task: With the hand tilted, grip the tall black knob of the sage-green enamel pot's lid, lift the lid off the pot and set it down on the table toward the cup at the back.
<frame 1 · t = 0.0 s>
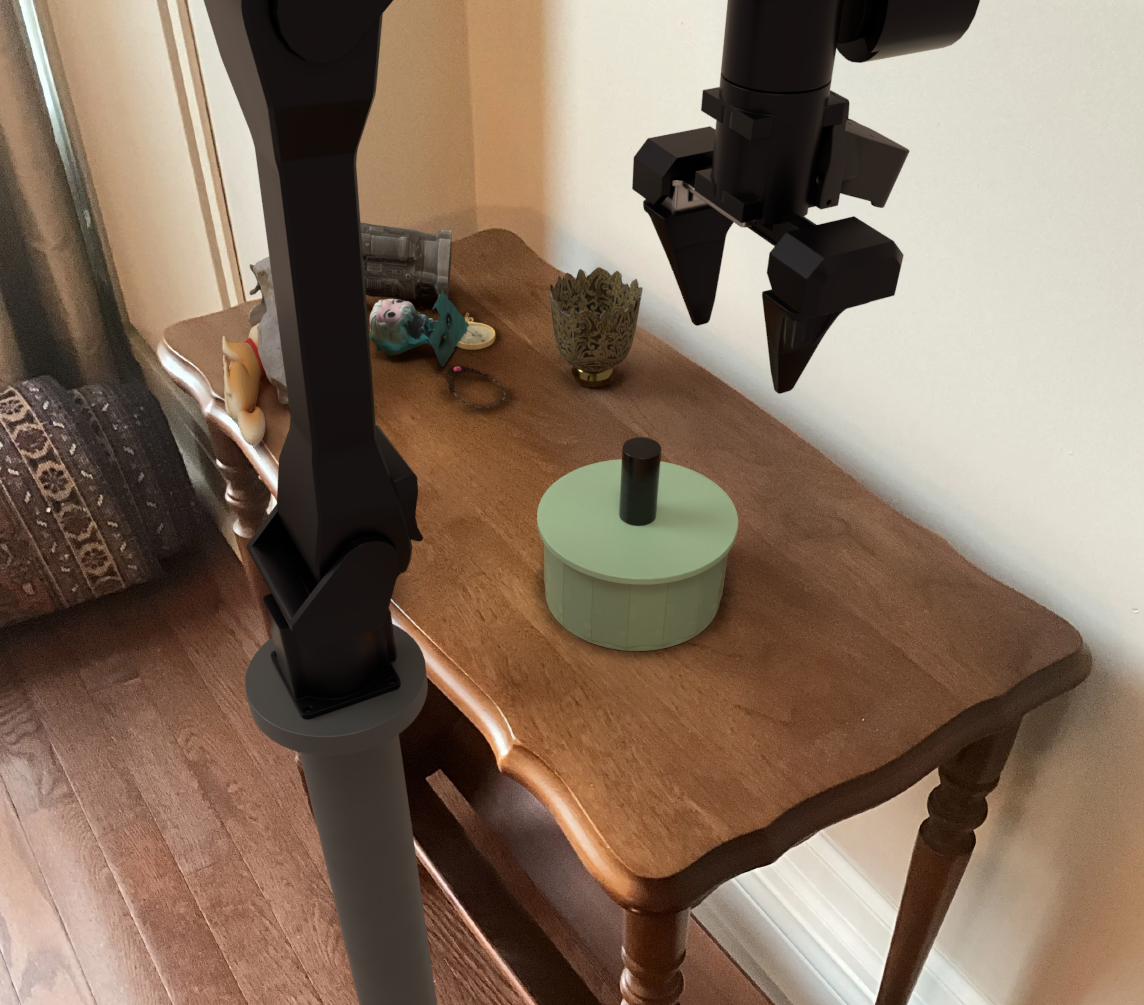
hand: (740, 356, 72), 15 cm above the table, tool pointing down, fingers open, 9 cm apart
pot: (632, 592, 80), on the table
stone: (328, 354, 99), point 1 cm above the table, touching figurine, toy
necklace: (474, 391, 97), on the table
toy: (220, 378, 94), point 2 cm above the table, touching stone
pocket watch: (471, 335, 104), on the table, touching figurine
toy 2: (452, 270, 105), point 3 cm above the table, touching eagle figurine
cup: (592, 381, 99), on the table
figurine: (443, 307, 96), point 5 cm above the table, touching pocket watch, stone
lid: (637, 521, 76), point 6 cm above the table, touching pot
eagle figurine: (258, 282, 103), point 3 cm above the table, touching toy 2
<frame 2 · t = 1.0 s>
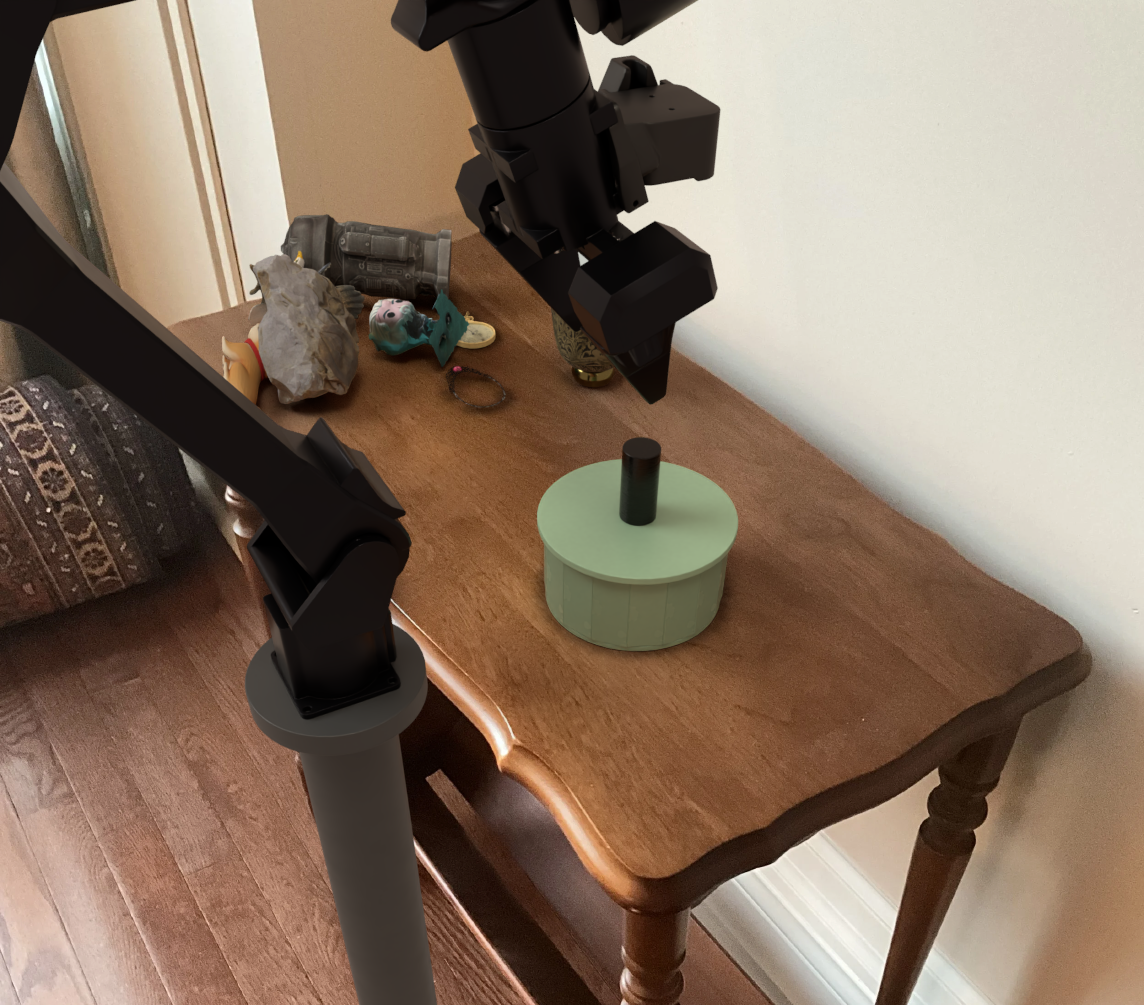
hand: (617, 362, 67), 17 cm above the table, tool tilted 20°, fingers open, 9 cm apart
stone: (327, 354, 99), point 1 cm above the table, touching figurine, toy
everything else where it was.
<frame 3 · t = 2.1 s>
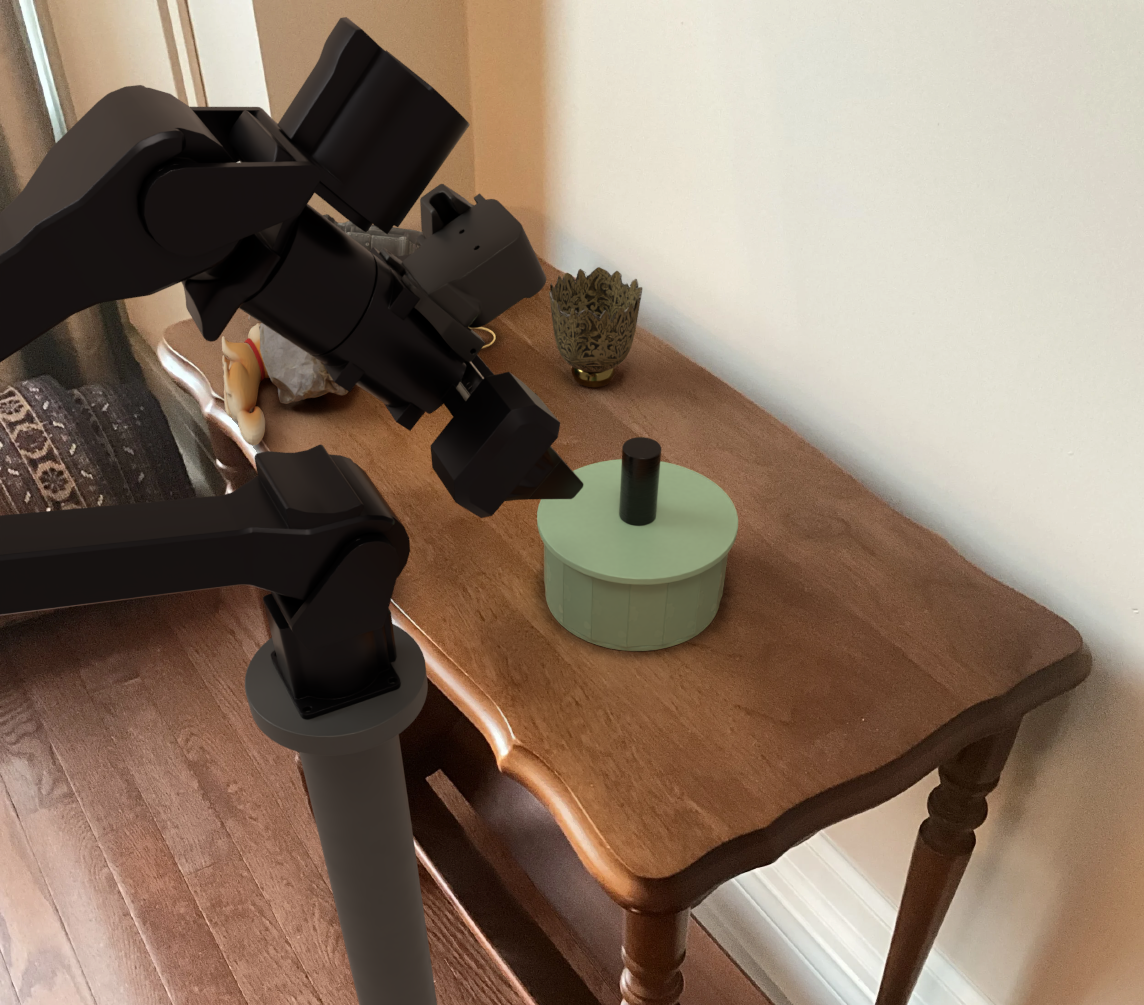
hand: (544, 449, 68), 13 cm above the table, tool tilted 45°, fingers open, 9 cm apart
stone: (327, 354, 99), point 1 cm above the table, touching figurine
toy: (220, 378, 94), point 2 cm above the table
everything else where it was.
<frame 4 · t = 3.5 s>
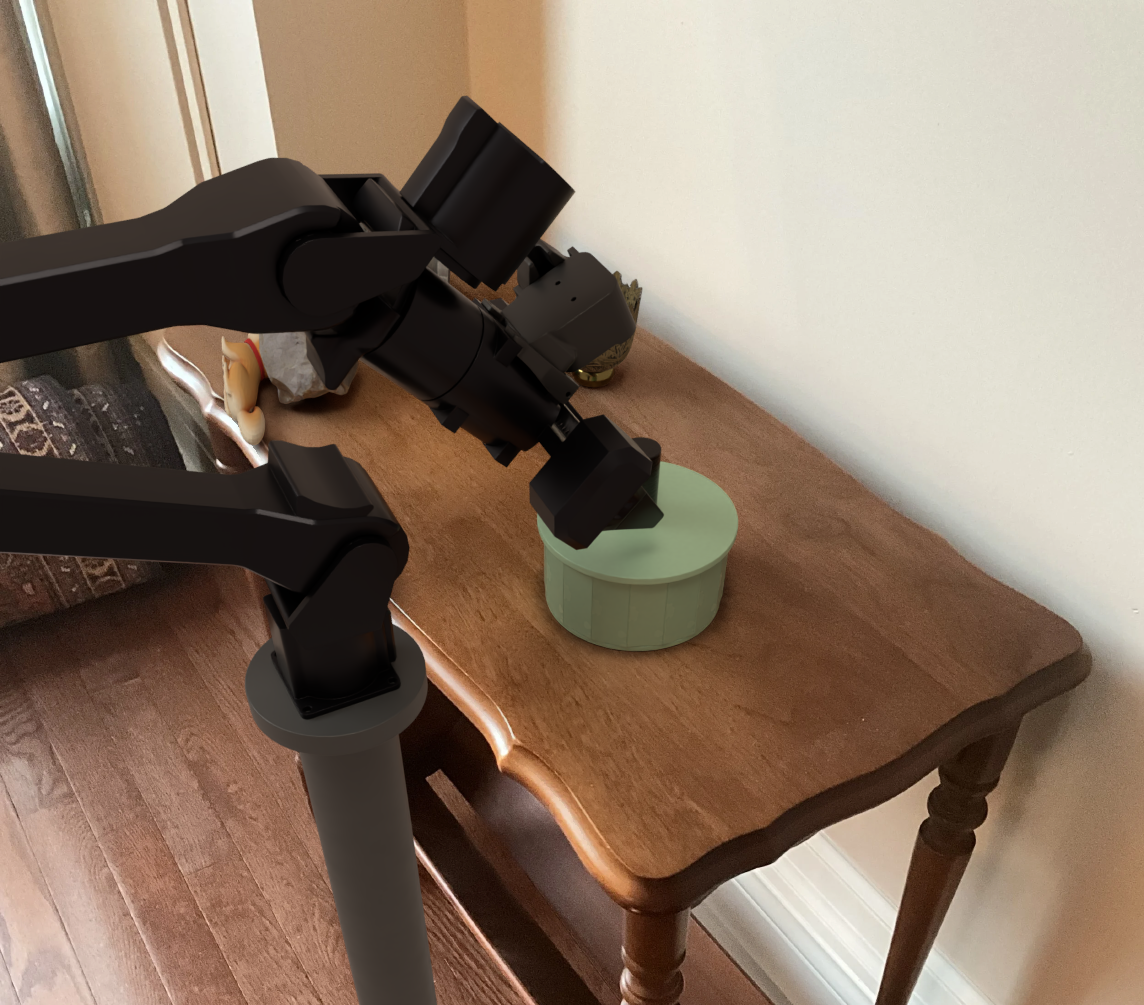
hand: (623, 479, 73), 9 cm above the table, tool tilted 45°, fingers open, 9 cm apart
nothing on the table moved.
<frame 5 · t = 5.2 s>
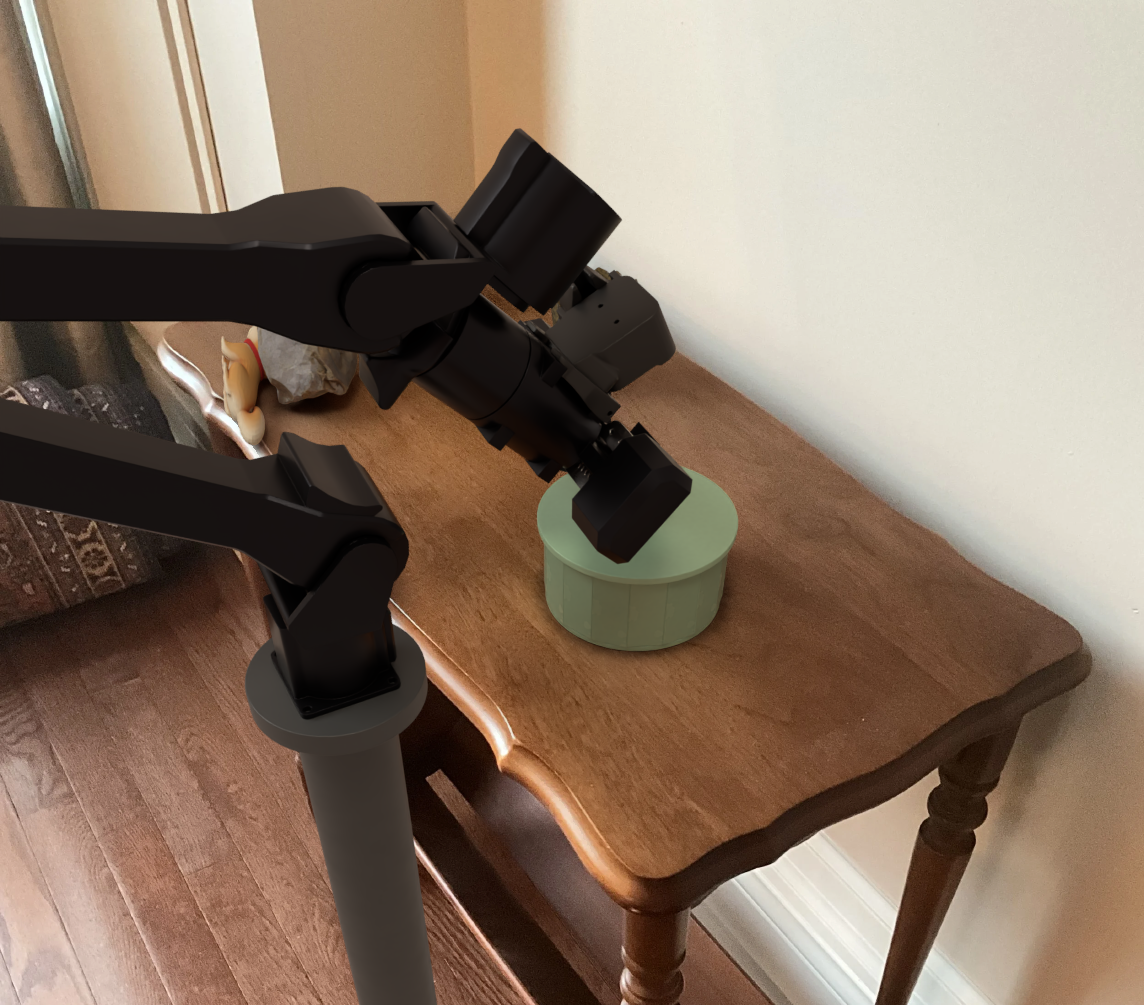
hand: (658, 494, 75), 8 cm above the table, tool tilted 45°, fingers closed on lid, 2 cm apart
stone: (326, 354, 99), point 1 cm above the table, touching figurine, toy
toy: (219, 378, 94), point 2 cm above the table, touching stone
lid: (637, 521, 76), point 6 cm above the table, touching gripper, pot
everything else where it was.
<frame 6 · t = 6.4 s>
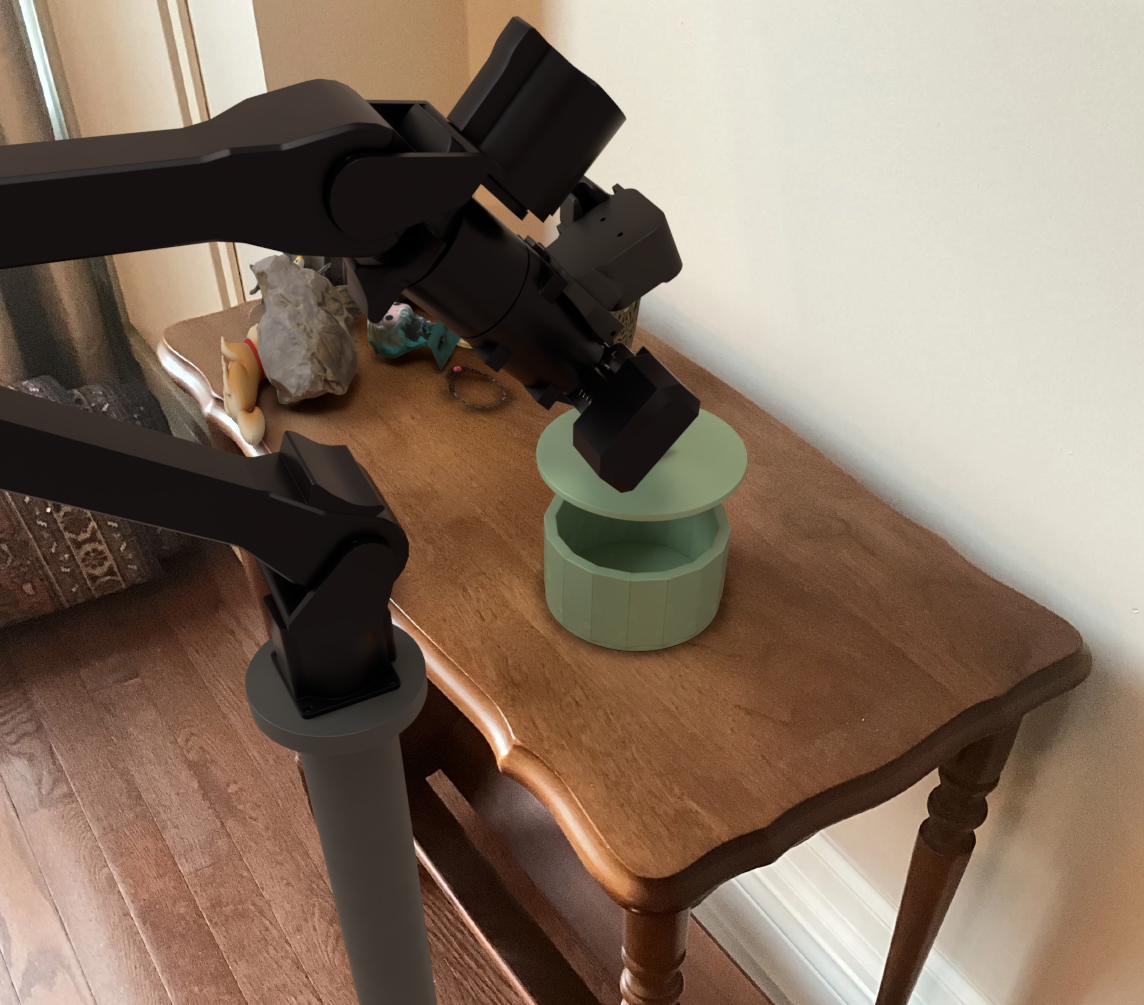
hand: (663, 429, 71), 12 cm above the table, tool tilted 45°, fingers closed on lid, 2 cm apart
lid: (641, 458, 72), point 11 cm above the table, touching gripper
everything else where it was.
when the fingers open (3 cm above the table, at t = 12.5 s): lid stays where it is, point 1 cm above the table.
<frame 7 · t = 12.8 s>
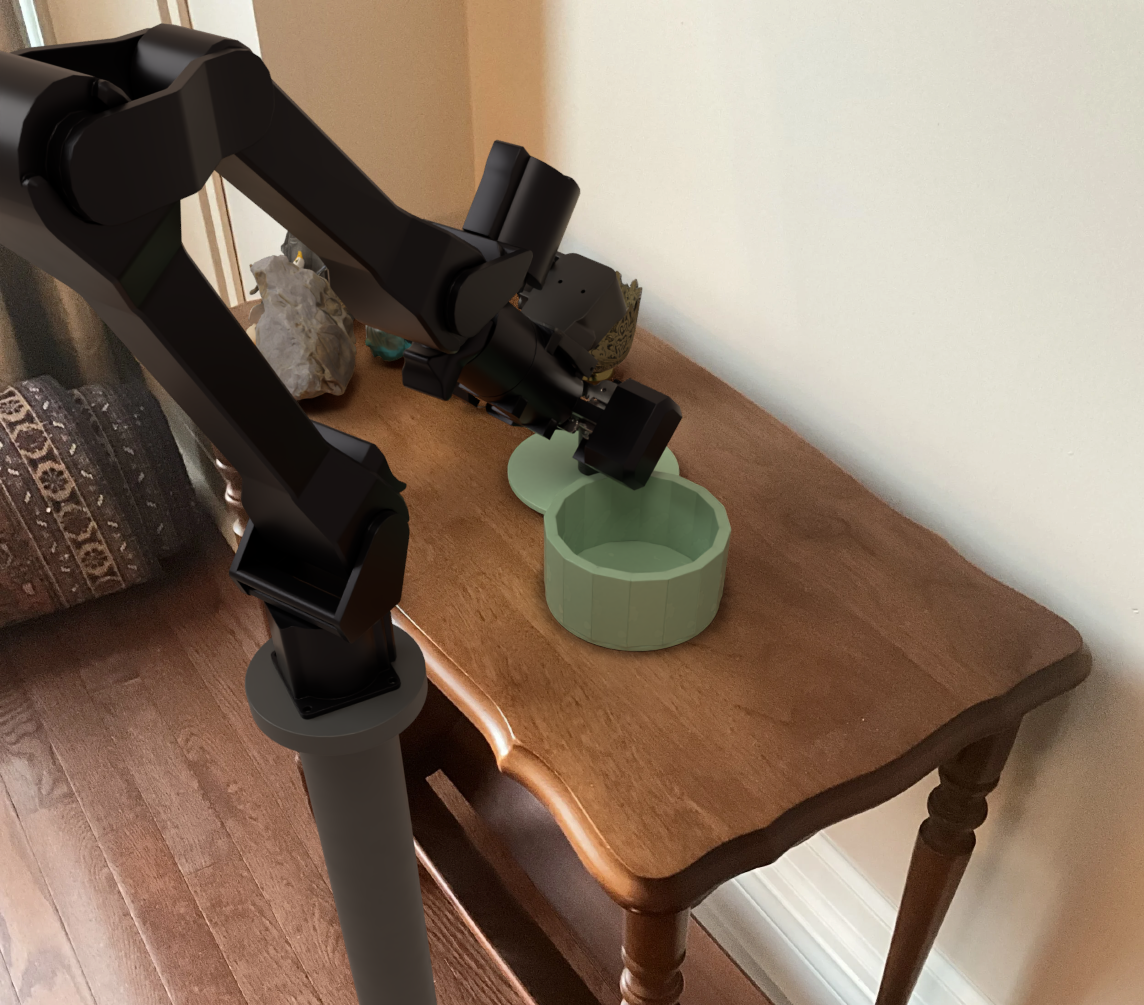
hand: (605, 435, 87), 3 cm above the table, tool tilted 45°, fingers open, 4 cm apart
lid: (593, 473, 88), point 1 cm above the table
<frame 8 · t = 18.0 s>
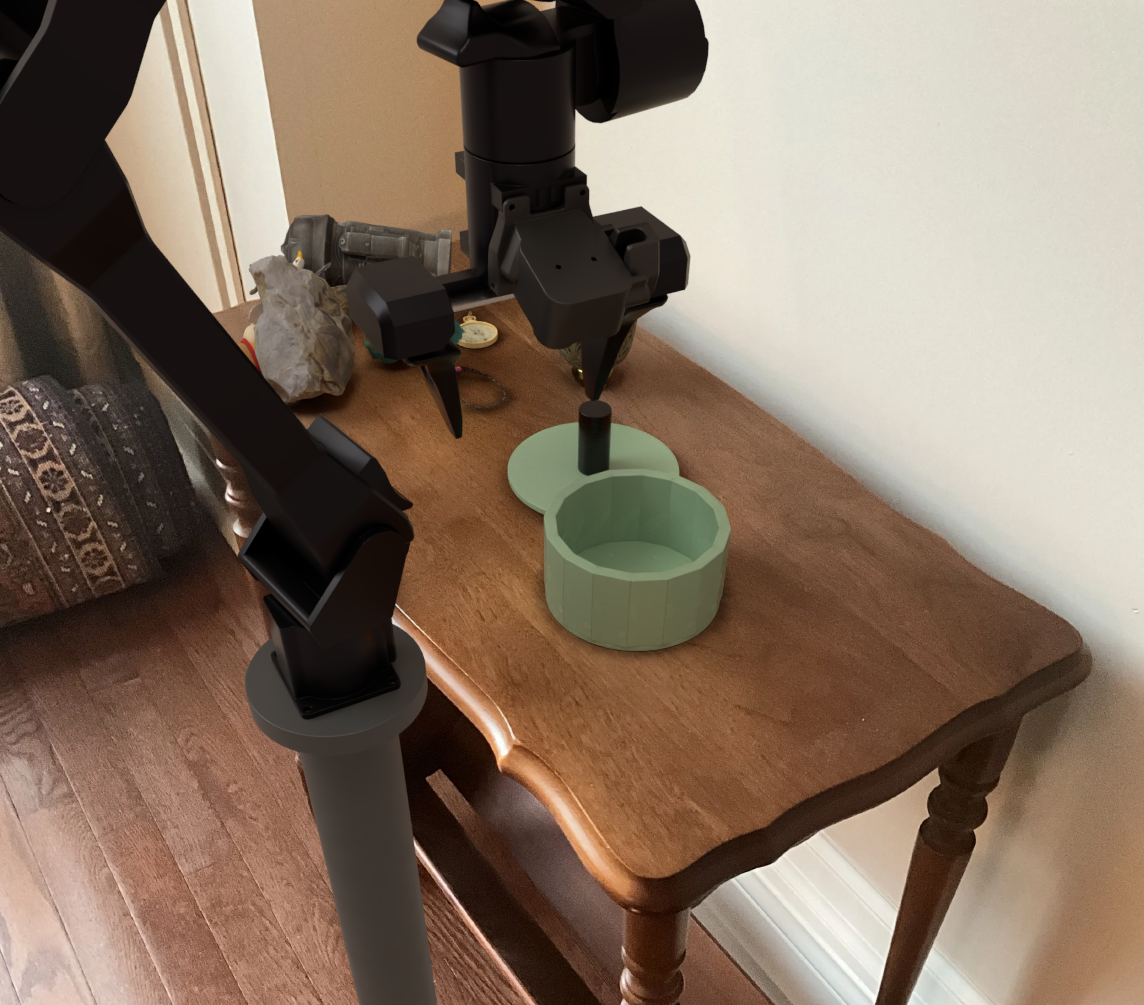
hand: (525, 416, 71), 13 cm above the table, tool pointing down, fingers open, 9 cm apart
at the end: lid inside the target area on the table beside the pot (0.7 cm from its centre), point 0.6 cm above the table; lid 14.8 cm from the cup (horizontally); lid tilted 0° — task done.
